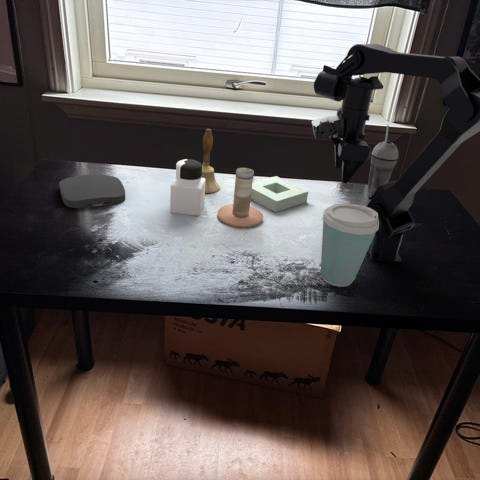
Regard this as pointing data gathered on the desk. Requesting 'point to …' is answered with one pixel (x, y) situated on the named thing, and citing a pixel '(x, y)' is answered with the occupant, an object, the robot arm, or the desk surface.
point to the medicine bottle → (188, 188)
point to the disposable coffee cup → (346, 241)
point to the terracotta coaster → (231, 220)
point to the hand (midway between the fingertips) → (340, 175)
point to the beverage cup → (382, 164)
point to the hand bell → (208, 171)
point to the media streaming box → (91, 191)
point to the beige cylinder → (242, 192)
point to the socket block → (285, 191)
